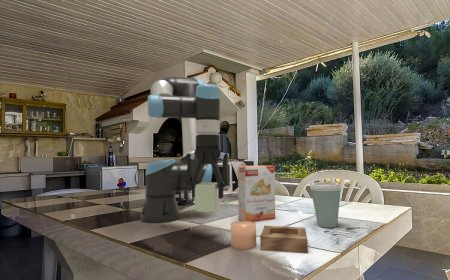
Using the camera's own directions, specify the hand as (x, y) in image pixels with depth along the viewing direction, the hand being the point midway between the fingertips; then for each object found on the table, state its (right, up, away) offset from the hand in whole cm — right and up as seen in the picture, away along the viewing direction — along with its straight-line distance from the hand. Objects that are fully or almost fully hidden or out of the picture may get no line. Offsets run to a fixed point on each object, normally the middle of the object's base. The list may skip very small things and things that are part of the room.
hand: (207, 208), depth 89 cm
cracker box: (+18, -10, +23) cm, 30 cm away
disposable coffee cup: (+41, -9, +12) cm, 44 cm away
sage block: (0, 0, 0) cm, 0 cm away
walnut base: (+22, -8, -9) cm, 25 cm away
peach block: (+11, -8, -10) cm, 16 cm away
